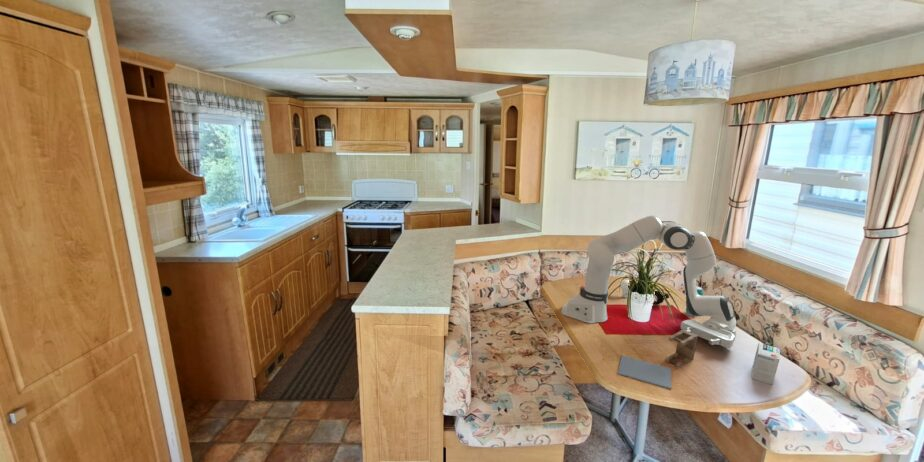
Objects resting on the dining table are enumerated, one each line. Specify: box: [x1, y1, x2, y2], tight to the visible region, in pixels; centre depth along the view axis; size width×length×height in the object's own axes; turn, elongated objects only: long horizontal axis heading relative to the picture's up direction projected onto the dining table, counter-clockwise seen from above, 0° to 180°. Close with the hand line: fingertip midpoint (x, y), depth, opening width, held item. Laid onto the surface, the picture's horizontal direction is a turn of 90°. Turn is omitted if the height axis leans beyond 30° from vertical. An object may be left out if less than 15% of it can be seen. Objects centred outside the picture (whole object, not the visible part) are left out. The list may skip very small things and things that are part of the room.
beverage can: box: [685, 285, 704, 317], centre depth 194 cm, size 6×6×15 cm
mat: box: [617, 355, 672, 390], centre depth 145 cm, size 18×14×1 cm
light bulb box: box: [751, 342, 781, 386], centre depth 144 cm, size 11×7×11 cm, turn 140°
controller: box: [653, 291, 670, 305], centre depth 206 cm, size 4×12×10 cm, turn 26°
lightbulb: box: [619, 279, 630, 299], centre depth 213 cm, size 6×6×11 cm
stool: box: [664, 329, 699, 369], centre depth 152 cm, size 12×6×11 cm, turn 125°
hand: (698, 337), depth 161 cm, fingers open, 8 cm apart
